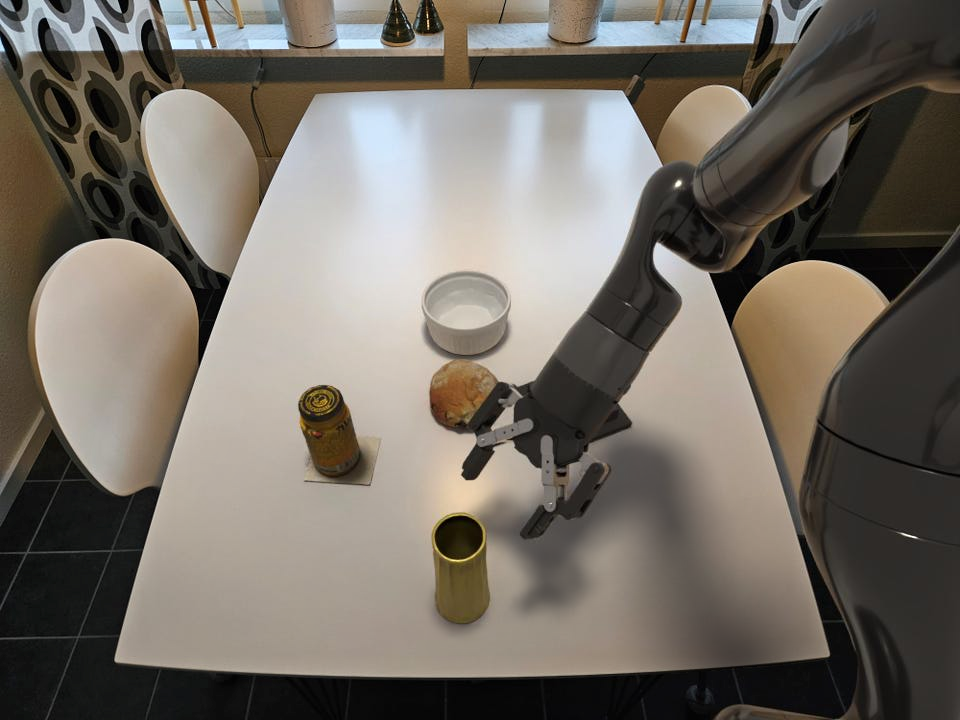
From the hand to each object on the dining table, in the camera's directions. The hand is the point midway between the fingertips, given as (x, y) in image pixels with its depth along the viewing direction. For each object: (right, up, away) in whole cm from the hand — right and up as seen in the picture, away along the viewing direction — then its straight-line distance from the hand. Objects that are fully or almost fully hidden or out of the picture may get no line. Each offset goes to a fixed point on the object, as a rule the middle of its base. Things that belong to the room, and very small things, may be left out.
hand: (495, 506), depth 63 cm
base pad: (+11, +8, +26) cm, 29 cm away
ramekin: (-4, +19, +37) cm, 41 cm away
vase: (-3, -12, +9) cm, 15 cm away
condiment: (-19, +1, +21) cm, 29 cm away
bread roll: (-4, +8, +27) cm, 28 cm away
